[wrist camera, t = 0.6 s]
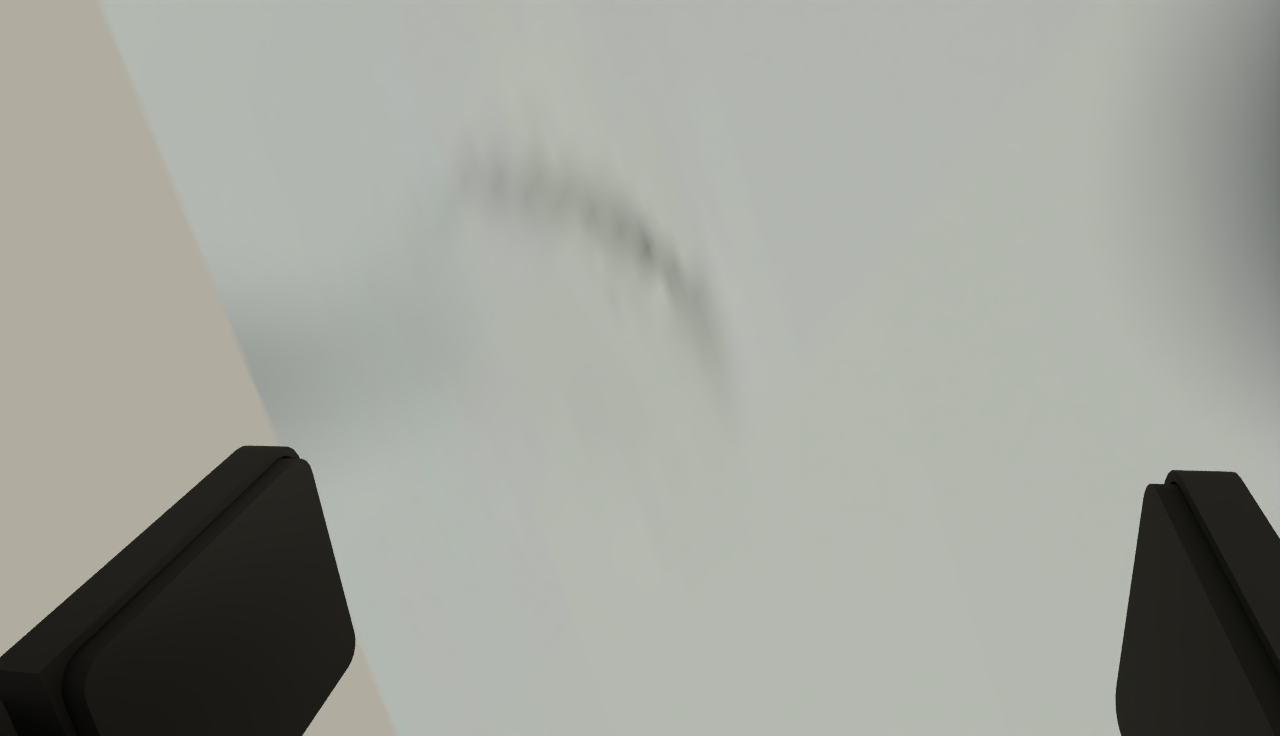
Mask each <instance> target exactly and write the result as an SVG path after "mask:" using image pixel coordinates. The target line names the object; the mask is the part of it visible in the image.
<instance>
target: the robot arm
mask: <svg viewBox="0 0 1280 736" xmlns="http://www.w3.org/2000/svg"><path fill="white" fill-rule="evenodd" d="M354 649H355V634H354V629H353V625H352V622H351V618H350V614H349V610H348V606H347V602H346V599H345V595H344V591H343V587H342V583H341V580H340V576H339V572H338V568H337V564H336V560H335V557H334V553H333V549H332V545H331V541H330V537H329V534H328V530H327V526H326V522H325V518H324V515H323V511H322V507H321V503H320V499H319V495H318V492H317V488H316V484H315V480H314V476H313V473H312V470H311V467H310V465H309V464H308V462H307V461H305V460H303V459H300V458H299V456H298V454H297V453H296V452H295V451H294V449H292V448H290V447H280V446H242V447H241V448H239V449H237V450H236V451H235V452H234V453H233V454H231V455H230V456H229V457H228V458H227V459H226V460H224V461H223V462H222V463H221V464H220V465H219V466H218V467H216V468H215V469H214V470H213V471H212V472H211V473H210V474H209V475H207V476H206V477H205V478H204V479H203V480H202V481H201V482H199V483H198V484H197V485H196V486H195V487H194V488H193V489H191V490H190V491H189V492H188V493H187V494H186V495H185V496H183V497H182V498H181V499H180V500H179V501H178V502H177V503H176V504H174V505H173V506H172V507H171V508H170V509H169V510H167V511H166V512H165V513H164V514H163V515H162V516H161V517H159V518H158V519H157V520H156V521H155V522H154V523H153V524H151V526H149V527H148V528H147V529H146V530H145V531H144V532H143V533H141V534H140V535H139V536H138V537H137V538H136V539H135V540H133V541H132V542H131V543H130V544H129V545H128V546H126V547H125V548H124V549H123V550H122V551H121V552H120V553H118V554H117V555H116V556H115V557H114V558H113V559H112V560H110V561H109V562H108V563H107V564H106V565H105V566H104V567H103V568H101V569H100V570H99V571H98V572H97V573H96V574H95V575H93V576H92V577H91V578H90V579H89V580H88V581H87V582H86V583H84V584H83V585H82V586H81V587H80V588H79V589H77V590H76V591H75V592H74V593H73V594H72V595H71V596H69V597H68V598H67V599H66V600H65V601H64V602H63V603H62V604H60V605H59V606H58V607H57V608H56V609H55V610H54V611H52V612H51V613H50V614H49V615H48V616H47V617H46V618H44V619H43V620H42V621H41V622H40V623H39V624H38V625H36V627H34V628H33V629H32V630H31V631H30V632H28V633H27V635H25V636H24V637H23V638H22V639H21V640H19V641H18V642H17V643H16V644H15V645H14V646H13V647H12V648H10V649H9V650H8V651H7V652H6V653H5V654H3V655H2V656H1V657H0V736H302V735H303V733H304V732H305V731H306V729H307V728H308V726H309V725H310V723H311V722H312V720H313V719H314V717H315V716H316V714H317V713H318V711H319V710H320V708H321V707H322V705H323V704H324V702H325V701H326V699H327V698H328V696H329V695H330V693H331V692H332V690H333V689H334V688H335V686H336V684H337V683H338V681H339V680H340V679H341V677H342V676H343V674H344V673H345V671H346V670H347V668H348V667H349V665H350V663H351V661H352V658H353V655H354ZM1116 714H1117V720H1118V725H1119V729H1120V733H1121V736H1280V538H1279V537H1278V535H1277V534H1276V532H1275V531H1274V529H1273V528H1272V526H1271V524H1270V523H1269V521H1268V520H1267V518H1266V517H1265V515H1264V513H1263V512H1262V510H1261V509H1260V507H1259V506H1258V504H1257V503H1256V501H1255V499H1254V498H1253V496H1252V495H1251V493H1250V492H1249V490H1248V488H1247V487H1246V485H1245V484H1244V482H1243V481H1242V479H1241V478H1240V477H1239V476H1238V474H1237V473H1235V472H1221V471H1183V470H1172V471H1171V472H1169V473H1168V475H1167V477H1166V480H1165V483H1164V484H1149V485H1148V486H1147V488H1146V490H1145V493H1144V498H1143V505H1142V512H1141V519H1140V526H1139V533H1138V540H1137V547H1136V554H1135V561H1134V568H1133V574H1132V581H1131V588H1130V595H1129V602H1128V609H1127V616H1126V623H1125V630H1124V637H1123V644H1122V651H1121V658H1120V665H1119V672H1118V679H1117V686H1116Z"/></svg>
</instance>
